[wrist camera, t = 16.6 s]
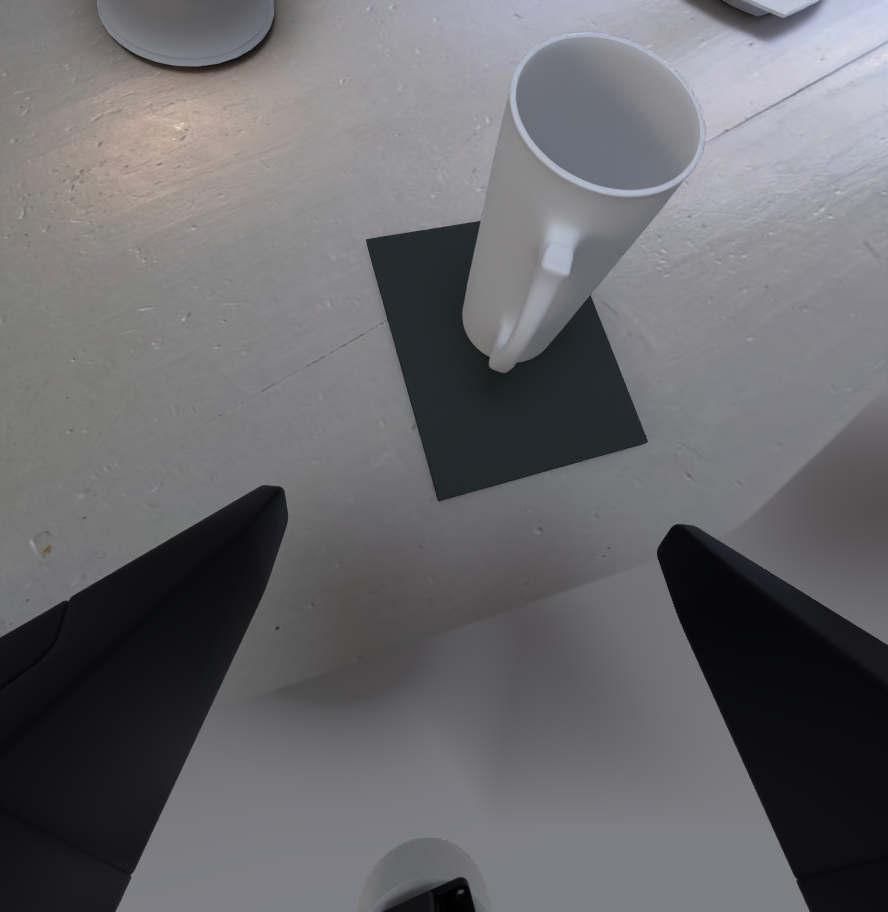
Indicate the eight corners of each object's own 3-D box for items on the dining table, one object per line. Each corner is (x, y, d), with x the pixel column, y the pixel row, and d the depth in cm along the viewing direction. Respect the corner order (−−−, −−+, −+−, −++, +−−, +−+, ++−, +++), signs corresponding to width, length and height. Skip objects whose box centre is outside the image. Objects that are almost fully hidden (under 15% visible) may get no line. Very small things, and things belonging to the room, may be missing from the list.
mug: (475, 261, 24) (541, 3, 12) (567, 295, 24) (720, 74, 12) (427, 392, 22) (449, 232, 10) (529, 428, 22) (669, 313, 10)
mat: (644, 443, 23) (648, 441, 22) (438, 501, 21) (438, 500, 20) (554, 213, 26) (556, 208, 25) (366, 243, 24) (365, 238, 23)
